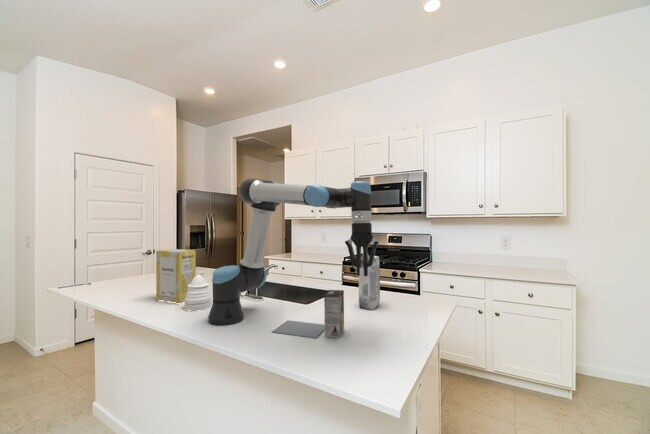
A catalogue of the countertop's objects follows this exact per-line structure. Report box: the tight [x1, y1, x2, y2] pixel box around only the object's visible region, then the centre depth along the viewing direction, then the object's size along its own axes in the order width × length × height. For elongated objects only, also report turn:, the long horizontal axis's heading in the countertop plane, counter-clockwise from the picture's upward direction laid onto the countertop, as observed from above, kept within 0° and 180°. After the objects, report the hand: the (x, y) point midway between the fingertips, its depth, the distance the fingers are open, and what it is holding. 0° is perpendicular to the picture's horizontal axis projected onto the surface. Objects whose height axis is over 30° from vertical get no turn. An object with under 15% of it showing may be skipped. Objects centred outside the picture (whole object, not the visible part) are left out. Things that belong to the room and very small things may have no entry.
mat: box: [271, 319, 325, 340], centre depth 121 cm, size 19×14×1 cm
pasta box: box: [155, 248, 197, 303], centre depth 167 cm, size 18×10×28 cm, turn 66°
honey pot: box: [184, 271, 213, 312], centre depth 152 cm, size 13×13×18 cm
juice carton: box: [358, 255, 381, 311], centre depth 151 cm, size 9×10×27 cm
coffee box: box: [323, 289, 345, 339], centre depth 116 cm, size 9×6×16 cm
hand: (362, 284), depth 113 cm, fingers closed
